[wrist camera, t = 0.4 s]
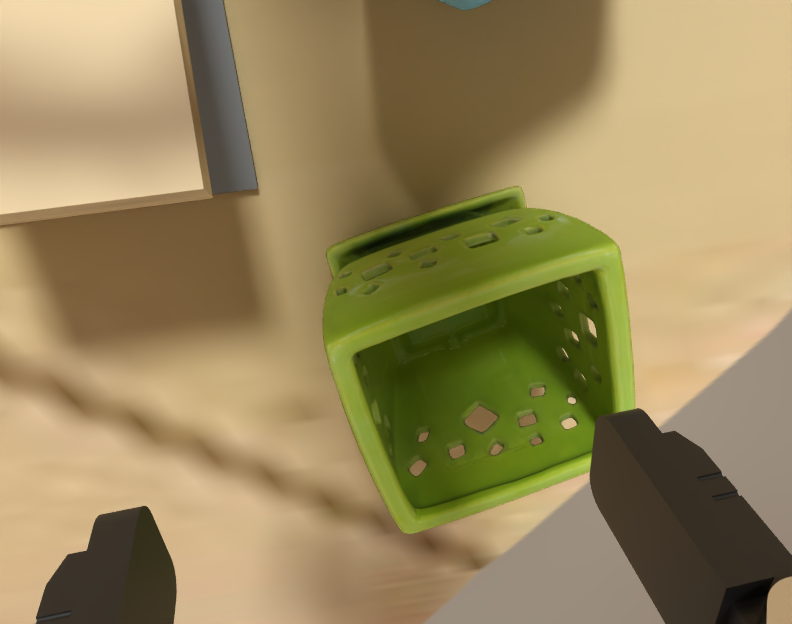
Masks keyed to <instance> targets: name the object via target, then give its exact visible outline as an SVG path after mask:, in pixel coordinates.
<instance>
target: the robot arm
mask: <svg viewBox="0 0 792 624" xmlns="http://www.w3.org/2000/svg"><path fill="white" fill-rule="evenodd" d="M590 484H591V489H592V492H593V496H594V499H595V502H596V504H597V506H598V508H599V510H600V512H601V513H602V515H603V517H604V518H605V520H606V522H607V524H608V525H609V527H610V529H611V531H612V532H613V534H614V536H615V537H616V539H617V541H618V542H619V544H620V546H621V548H622V549H623V551H624V553H625V555H626V556H627V558H628V560H629V562H630V563H631V565H632V567H633V568H634V570H635V572H636V574H637V575H638V577H639V579H640V580H641V582H642V584H643V586H644V587H645V589H646V591H647V593H648V594H649V596H650V598H651V599H652V601H653V603H654V605H655V606H656V608H657V610H658V612H659V613H660V615H661V617H662V618H663V620H664V622H665V624H792V555H791V554H790V553H789V552H788V551H787V550H786V548H785V547H784V546H783V544H782V543H781V542H780V541H779V540H778V538H777V537H776V536H775V535H774V534H773V533H772V531H771V530H770V529H769V528H768V526H767V525H766V524H765V523H764V522H763V521H762V519H761V518H760V517H759V516H758V515H757V513H756V512H755V511H754V510H753V509H752V508H751V506H750V505H749V504H748V503H747V501H746V500H745V499H744V498H743V497H742V496H739V495H738V493H737V490H736V488H735V487H734V486H733V485H732V484H731V482H730V481H729V480H728V479H727V478H726V477H723V476H722V473H721V470H720V469H719V468H718V467H717V466H716V464H715V463H714V462H713V461H712V460H711V458H710V457H709V456H708V455H707V454H706V453H705V451H704V450H703V449H702V448H700V447H699V446H697V445H696V444H694V443H693V442H691V441H689V440H688V439H687V438H685V437H683V436H682V435H680V434H679V433H677V432H676V431H672V432H667V433H661V431H660V430H659V429H658V427H657V426H656V425H655V424H654V422H653V421H652V420H651V419H650V417H649V416H648V415H647V414H646V413H645V412H644V411H643V410H641V409H639V408H637V409H632V410H627V411H622V412H617V413H612V414H607V415H602V416H599V417H598V418H597V419H596V422H595V430H594V439H593V448H592V457H591V466H590ZM176 591H177V590H176V576H175V570H174V565H173V562H172V559H171V557H170V555H169V552H168V550H167V548H166V545H165V543H164V541H163V539H162V536H161V534H160V532H159V529H158V527H157V525H156V523H155V520H154V518H153V516H152V513H151V511H150V510H149V508H148V507H147V506H142V507H137V508H132V509H127V510H122V511H117V512H112V513H107V514H102V515H99V516H98V517H97V518H96V520H95V522H94V526H93V529H92V533H91V537H90V541H89V545H88V549H87V551H83V552H78V553H73V554H68V555H67V556H66V558H65V559H64V561H63V562H62V563H61V565H60V566H59V568H58V569H57V571H56V572H55V573H54V575H53V576H52V578H51V579H50V580H49V582H48V583H47V585H46V587H45V590H44V593H43V597H42V600H41V603H40V606H39V610H38V613H37V616H36V619H37V623H36V624H173V623H174V614H175V605H176Z"/></svg>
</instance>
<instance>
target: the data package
mask: <svg viewBox="0 0 792 624" xmlns="http://www.w3.org/2000/svg"><path fill="white" fill-rule="evenodd" d="M438 1H441V2H443V3H445V4H448V5H450V6H452V7H455V8H457V9H460V10H470V9H474V8H477V7H479V6H482V5H484V4H486V3H488V2H490V1H492V0H438Z"/></svg>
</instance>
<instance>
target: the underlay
mask: <svg viewBox="0 0 792 624" xmlns="http://www.w3.org/2000/svg"><path fill="white" fill-rule="evenodd" d="M181 3H182V9H183V16H184V22H185V28H186V34H187V40H188V47H189V53H190V59H191V65H192V72H193V78H194V84H195V90H196V96H197V103H198V109H199V115H200V121H201V128H202V134H203V140H204V146H205V153H206V159H207V165H208V171H209V177H210V184H211V190H212V194H220V193H228V192H236V191H244V190H252V189H258V185H257V179H256V174H255V169H254V163H253V158H252V153H251V147H250V142H249V137H248V131H247V126H246V121H245V115H244V110H243V105H242V99H241V94H240V89H239V83H238V78H237V73H236V67H235V62H234V57H233V51H232V46H231V41H230V35H229V30H228V25H227V19H226V14H225V9H224V3H223V0H181Z"/></svg>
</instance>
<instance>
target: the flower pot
mask: <svg viewBox="0 0 792 624" xmlns="http://www.w3.org/2000/svg"><path fill="white" fill-rule="evenodd" d="M326 257H327V260H328V264H329V267H330V270H331V273H332V276H333V280H332V281H331V283H330V286H329V288H328V292H327V295H326V299H325V304H324V310H323V339H324V345H325V351H326V354H327V358H328V362H329V366H330V369H331V372H332V375H333V378H334V381H335V384H336V387H337V390H338V393H339V396H340V399H341V402H342V405H343V408H344V410H345V413H346V416H347V418H348V421H349V424H350V426H351V429H352V432H353V434H354V437H355V439H356V442H357V444H358V447H359V449H360V451H361V454H362V456H363V458H364V461H365V463H366V465H367V467H368V470H369V472H370V474H371V476H372V478H373V481H374V483H375V485H376V487H377V489H378V491H379V493H380V495H381V497H382V499H383V501H384V503H385V505H386V507H387V508H388V510H389V512H390V514H391V516H392V518H393V519H394V521H395V523H396V524H397V526H398V527H399V528H400V530H401V531H402V532H403V533H405V534H413V533H417V532H420V531H424V530H427V529H430V528H434V527H437V526H440V525H443V524H446V523H449V522H452V521H455V520H458V519H461V518H464V517H467V516H470V515H473V514H476V513H479V512H482V511H484V510H487V509H490V508H493V507H496V506H498V505H501V504H504V503H507V502H510V501H513V500H516V499H518V498H521V497H524V496H526V495H529V494H532V493H534V492H537V491H540V490H542V489H545V488H547V487H550V486H553V485H555V484H558V483H561V482H564V481H566V480H569V479H572V478H574V477H577V476H580V475H582V474H585V473H587V472H590V466H591V457H592V448H593V439H594V430H595V422H596V419H597V418H598V417H599V416H602V415H607V414H612V413H617V412H622V411H627V410H632V409H635V383H634V364H633V354H632V342H631V330H630V318H629V309H628V300H627V291H626V283H625V275H624V269H623V264H622V258H621V252H620V249H619V247H618V245H617V244H616V243H615V242H614V241H613V240H612V239H611V238H610V237H609V236H607V235H606V234H604V233H603V232H601V231H599V230H598V229H596V228H594V227H592V226H591V225H589V224H587V223H585V222H583V221H581V220H579V219H577V218H574V217H571V216H568V215H565V214H562V213H559V212H555V211H550V210H545V209H535V208H527V206H526V202H525V197H524V193H523V191H522V188H521V187H519V186H513V187H509V188H505V189H502V190H499V191H496V192H492V193H489V194H486V195H482V196H479V197H476V198H472V199H469V200H466V201H462V202H459V203H456V204H453V205H449V206H446V207H443V208H440V209H437V210H434V211H431V212H428V213H424V214H421V215H418V216H415V217H412V218H409V219H406V220H403V221H399V222H396V223H393V224H390V225H387V226H384V227H381V228H378V229H376V230H373V231H370V232H367V233H364V234H361V235H358V236H356V237H353V238H350V239H347V240H345V241H342V242H339V243H337V244H335V245H332V246H331V247H329V248H328V249H327V250H326ZM566 287H567V288H566ZM567 289H568V290H567ZM560 307H561V308H560ZM587 317H588V318H589V319H591V320H592V321H593V322H594V324H595V328H596V334H597V338H596V337H595V336H594V335H593V334H592V333H591V332H590V330H589V326H588V320H587ZM572 331H573V332H574V333H575V334H576V335H577V337H578V339H579V342H578V341H577V340H575V339H574V338H573V335H572ZM562 348H563V349H564V350H565V351H566V353H567V355H568V357H569V358H568V357H567V356H566V355H565V353H564V351H563V349H562ZM581 374H582V375H583V376H584V378H585V379H586V380H585V379H584V378H583V376H582V375H581ZM539 387H544V388H545V392H544V395H542V396H538V397H532V396H531V389H532V388H539ZM569 397H573V398H575V399H576V403H575V404H570V403H568V398H569ZM478 406H482V407H484V408H486V409H487V410H489V411H491V412H492V413H494V414H495V415H497V416H498V418H497V420H496V421H495V422H494V423H493V424H492V425H491V426H490V427H489V428H488V429H487V430H486V431H484V432H479V431H477V430H474V429H472V428H471V427H469V426H467V425H466V424H465V422H464V421H465V419H466V418H467V417H468V416H469V415H470V414H471V413H472V412H473V411H474V410H475V409H476V408H477V407H478ZM530 414H534V415H535V417H536V420H537V422H536V423H535V424H532V425H528V426H524V427H521V426H520V423H519V419H520V418H521V417H523V416H526V415H530ZM568 418H573V419H574V420H575V421H576V423H577V425H576V426H575V427H573V428H571V429H565V428H564V427H563V426H562V424H561V422H562V421H563V420H565V419H568ZM423 432H429V435H428V438H427V440H425V441H424V442H418V438H419V435H420V434H421V433H423ZM537 437H539V438H541V440H542V443H540V444H538V445H533V444H531V440H532V439H534V438H537ZM495 444H499V445H501V446H502V447H503V449H502V450H501V451H500V453H499V454H497V455H495V456H494V455H491V454H490V452H491V449H492V448H493V446H494V445H495ZM459 445H464V449H465V454H464V455H463V456H461V457H459V458H456V459H452V458H451V456H450V454H449V450H450V449H451V448H453V447H456V446H459ZM418 460H422V461H424V462H425V463H427V466H426V468H425V469H424V470H423V471H422V473H421V474H420V475H419V476H414V475H413V474H412V473H411V472H410V471H409V468H410V467H411V466H412V465H413V464H414V463H415V462H416V461H418Z"/></svg>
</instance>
